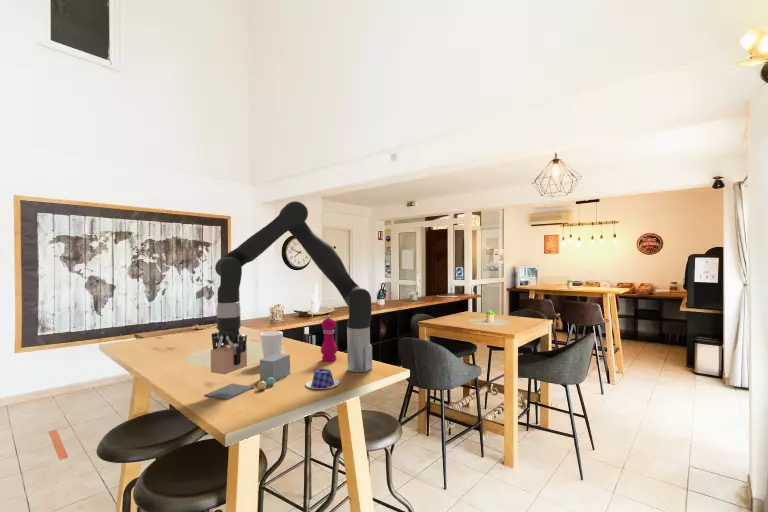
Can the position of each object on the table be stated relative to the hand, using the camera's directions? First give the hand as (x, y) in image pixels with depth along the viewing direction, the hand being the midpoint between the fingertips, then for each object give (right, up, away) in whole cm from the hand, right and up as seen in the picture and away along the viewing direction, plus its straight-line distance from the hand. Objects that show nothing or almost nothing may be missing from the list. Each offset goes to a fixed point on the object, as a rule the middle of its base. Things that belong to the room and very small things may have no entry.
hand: (229, 363), depth 130 cm
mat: (0, -10, 0) cm, 10 cm away
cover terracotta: (0, -2, 0) cm, 2 cm away
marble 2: (+12, -10, +6) cm, 17 cm away
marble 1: (+11, -10, +2) cm, 14 cm away
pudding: (+31, -10, +6) cm, 33 cm away
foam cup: (+4, -10, +35) cm, 37 cm away
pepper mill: (+29, -10, +39) cm, 49 cm away
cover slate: (+11, -10, +16) cm, 22 cm away
